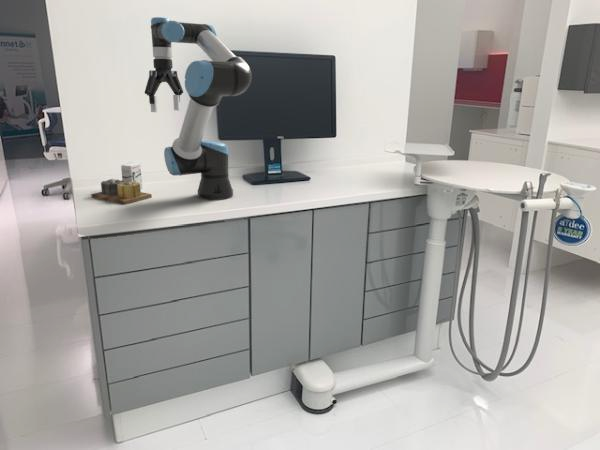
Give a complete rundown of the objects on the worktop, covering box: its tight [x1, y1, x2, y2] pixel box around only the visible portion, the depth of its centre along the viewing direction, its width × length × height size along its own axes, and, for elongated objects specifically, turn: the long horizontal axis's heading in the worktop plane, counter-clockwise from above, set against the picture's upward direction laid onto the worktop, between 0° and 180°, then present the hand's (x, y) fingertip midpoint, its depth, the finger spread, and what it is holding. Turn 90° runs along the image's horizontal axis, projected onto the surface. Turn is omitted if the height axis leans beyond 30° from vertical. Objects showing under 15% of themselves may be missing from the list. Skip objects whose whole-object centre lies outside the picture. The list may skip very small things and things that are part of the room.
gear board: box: [90, 178, 153, 205], centre depth 199 cm, size 20×14×7 cm
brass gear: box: [117, 182, 142, 198], centre depth 197 cm, size 9×9×5 cm
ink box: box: [120, 161, 143, 189], centre depth 212 cm, size 9×5×12 cm, turn 168°
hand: (165, 111), depth 203 cm, fingers open, 13 cm apart
